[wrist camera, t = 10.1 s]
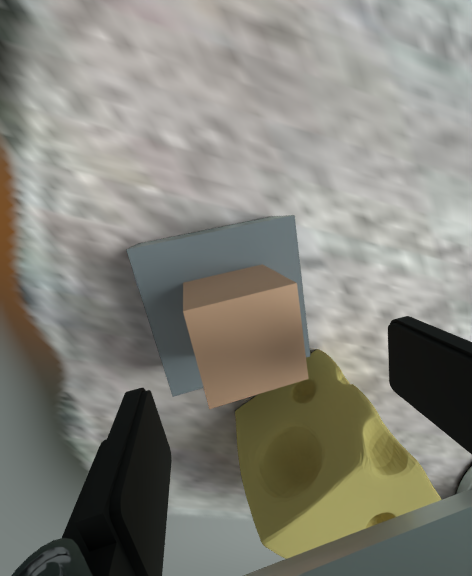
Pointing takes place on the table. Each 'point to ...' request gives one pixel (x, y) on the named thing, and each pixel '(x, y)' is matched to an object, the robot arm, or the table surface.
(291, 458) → the cheese
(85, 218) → the table surface
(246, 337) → the cube
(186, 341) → the pedestal
